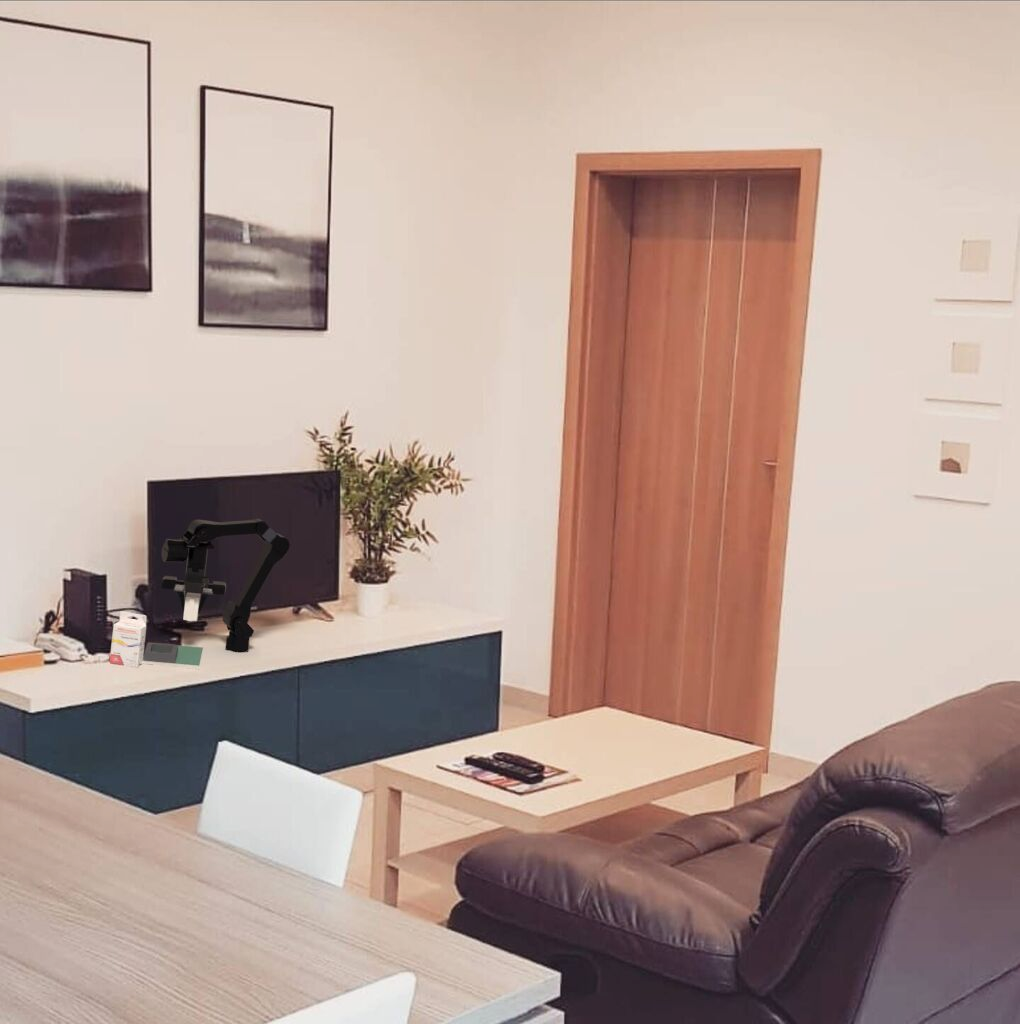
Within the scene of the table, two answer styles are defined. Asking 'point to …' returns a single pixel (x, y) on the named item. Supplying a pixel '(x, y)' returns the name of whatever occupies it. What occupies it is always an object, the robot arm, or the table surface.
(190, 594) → the plug
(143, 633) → the ink cartridge box
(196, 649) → the board
